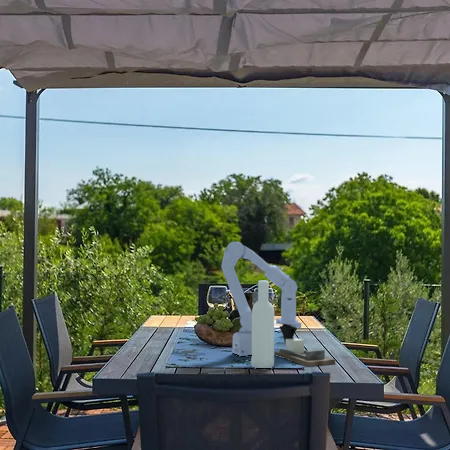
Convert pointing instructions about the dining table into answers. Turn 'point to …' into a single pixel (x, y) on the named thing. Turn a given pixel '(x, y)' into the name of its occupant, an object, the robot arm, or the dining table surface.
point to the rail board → (306, 362)
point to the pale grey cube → (295, 345)
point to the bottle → (263, 329)
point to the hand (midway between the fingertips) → (288, 344)
